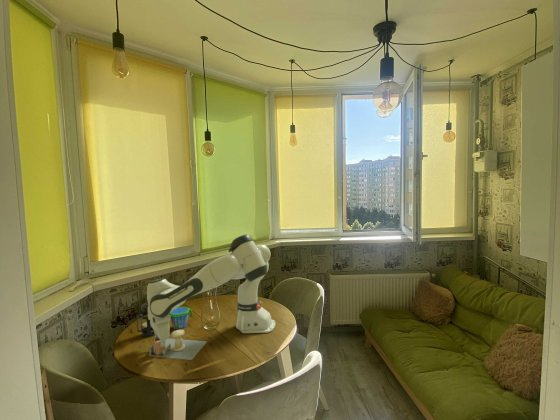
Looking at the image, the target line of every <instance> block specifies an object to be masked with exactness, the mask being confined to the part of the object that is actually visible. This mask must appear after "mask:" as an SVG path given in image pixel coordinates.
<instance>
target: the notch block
mask: <svg viewBox="0 0 560 420" xmlns="http://www.w3.org/2000/svg"><path fill="white" fill-rule="evenodd" d="M170 350H171V344H168V345H167V346H166V347H165V348H164V349H163V353H162V354H159V356H165V355H166V354H167V353H168V352H169V351H170ZM148 352H149V353H148V355H156V354H155V352H154V344H152V345H151V346H150V347H149V348H148Z"/></svg>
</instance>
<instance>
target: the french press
mask: <svg viewBox="0 0 560 420" xmlns="http://www.w3.org/2000/svg"><path fill="white" fill-rule="evenodd" d="M144 296H146V297H147V292H146V293H145V294H144ZM140 310H141V311H142V312H141V314H140V313H139V314H137V315H136V324H137V326H136V327H137V332H138V333H140V332H141V336H142V337H144V338H150V337H155V333H154V330H153V328H152V327H151V324H150V320H149V319H148V316H144V315H148V301H147V302H143V303H142V304H141V305H140ZM139 317H140V320H139ZM143 320H146V321H145V322H144V321H143ZM139 321H140V324H139ZM140 326H141V329H139V328H140Z"/></svg>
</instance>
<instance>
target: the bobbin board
mask: <svg viewBox="0 0 560 420" xmlns="http://www.w3.org/2000/svg"><path fill="white" fill-rule="evenodd" d="M185 333H186V332H185V330H184V329H179V330H173V331H172V332H171V337H172V338H170V337H169V338H168V339H166V340H165V347H166V346H167V345H168V344H171V350H170V351H169V352H168V353H167V354H166V355H165V356H159V355H149V354H148V355H147V356H148V357H154V358H155V357H156V358H165V359H166V358H167V359H168V358H170V359H176V360H178V359H179V360H188V361H192V360H193V359H194V358H195V357H196V356H197V354H199V352H200V351H201V350H202V349H203V347H204V346H205V345H206V344H207V343H208V341H205V340H193V339H184V338H183V336H184V335H185Z"/></svg>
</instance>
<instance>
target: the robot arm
mask: <svg viewBox="0 0 560 420" xmlns="http://www.w3.org/2000/svg"><path fill="white" fill-rule="evenodd" d="M228 252H229V253H228V254H225V255H222V256H220V257H217V258H216V259H213V260H211V262H209V263H207V264H206V265H204V266H203V267H202V268H200V270H198V271H197V272H196V273H195V274H194V275H193V276H192V277H190V278H189V279H188V280H187V281H185V282H184V283H182V284H181V285H176V284H174V283H171V282H169V281H168V280H167V279H166V278H164V277H160V278H156V279H153V280H151V281H150V282H148V284H147V287H146V293H147V296H146V300H147V302H148V313H147V317H148V319H149V320H150V324H151V327H152V328H153V330H152V331H153V332H154V333H155V336H154V339H155V338H158V337H159V339H160V346H161V347H163V346H165V340H166V339H168V338H170V331H171V330H170V327H171V326H170V321H171V317H170V315H169V313H171V312H172V311H173V310H175V309H176V308H178V307H182V305H183V304H185V302H186V301H187V300H189V299H190V298H192V297H194V296H196V295H199V294H201V293H204V292H207V291H210V290H213V289H215V288H218V287H220V286H222V285H223V284H226V283H227V282H229V281H231V280H242V279H245V280H244V282H242V283H241V284H240V285H239V286H238V289H237V301H236V309H237V319H236V324H235V328H236V330H238V331H240V333H242V334H255V333H256V334H261V333H263V334H264V333H266V334H267V333H271V332H272V331H273V330H274V329H275V327H276V320H274V319H272V316H271V314H270V312H269V311H267V310H266V309H265V308H264V307H262V300H260V301H259V299H258V289H259V284H260V282H261V280H262V279H264V277H265V276H266V275H267V273H268V271H269V269H270V267H269V266H270V263H269V261H270V259H271V250H270V248H269V247H268V246H267V245H264V244H257V245H256V243H255V241H254V239H253V237H252V236H251V235H249V234H241V235H239V236H237V237H235V238H234V239H233V240H232V241H231V244H230V247H229V248H228Z"/></svg>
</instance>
